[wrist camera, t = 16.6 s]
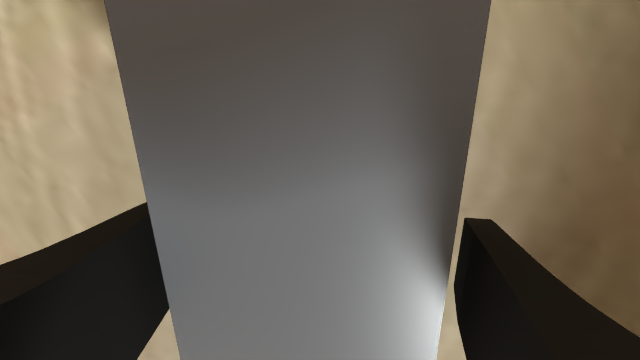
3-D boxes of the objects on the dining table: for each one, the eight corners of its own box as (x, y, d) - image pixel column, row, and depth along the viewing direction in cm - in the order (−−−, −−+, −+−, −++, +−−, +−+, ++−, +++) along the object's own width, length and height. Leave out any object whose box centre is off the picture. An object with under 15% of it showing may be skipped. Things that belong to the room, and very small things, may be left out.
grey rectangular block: (445, -37, 11) (497, -34, 6) (407, 323, 17) (415, 490, 12) (226, -35, 12) (97, -31, 7) (258, 308, 18) (201, 459, 12)
